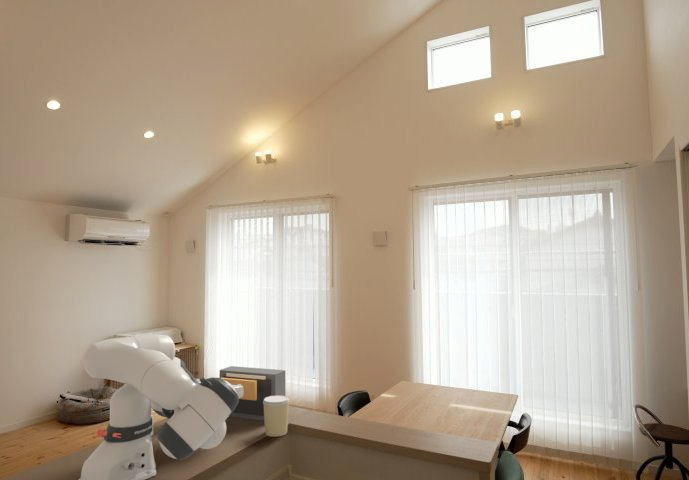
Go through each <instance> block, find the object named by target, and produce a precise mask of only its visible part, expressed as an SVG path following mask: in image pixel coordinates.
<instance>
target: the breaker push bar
mask: <svg viewBox="0 0 689 480" xmlns="http://www.w3.org/2000/svg"><path fill="white" fill-rule="evenodd" d="M221 379H223V380H225V381H227V382H229V383H230V384H231V385H236V384H241V386H243V389H244V393H243V397H241V398H240V399H246V400H257V381H255V380H243V379H232V378H221Z"/></svg>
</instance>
